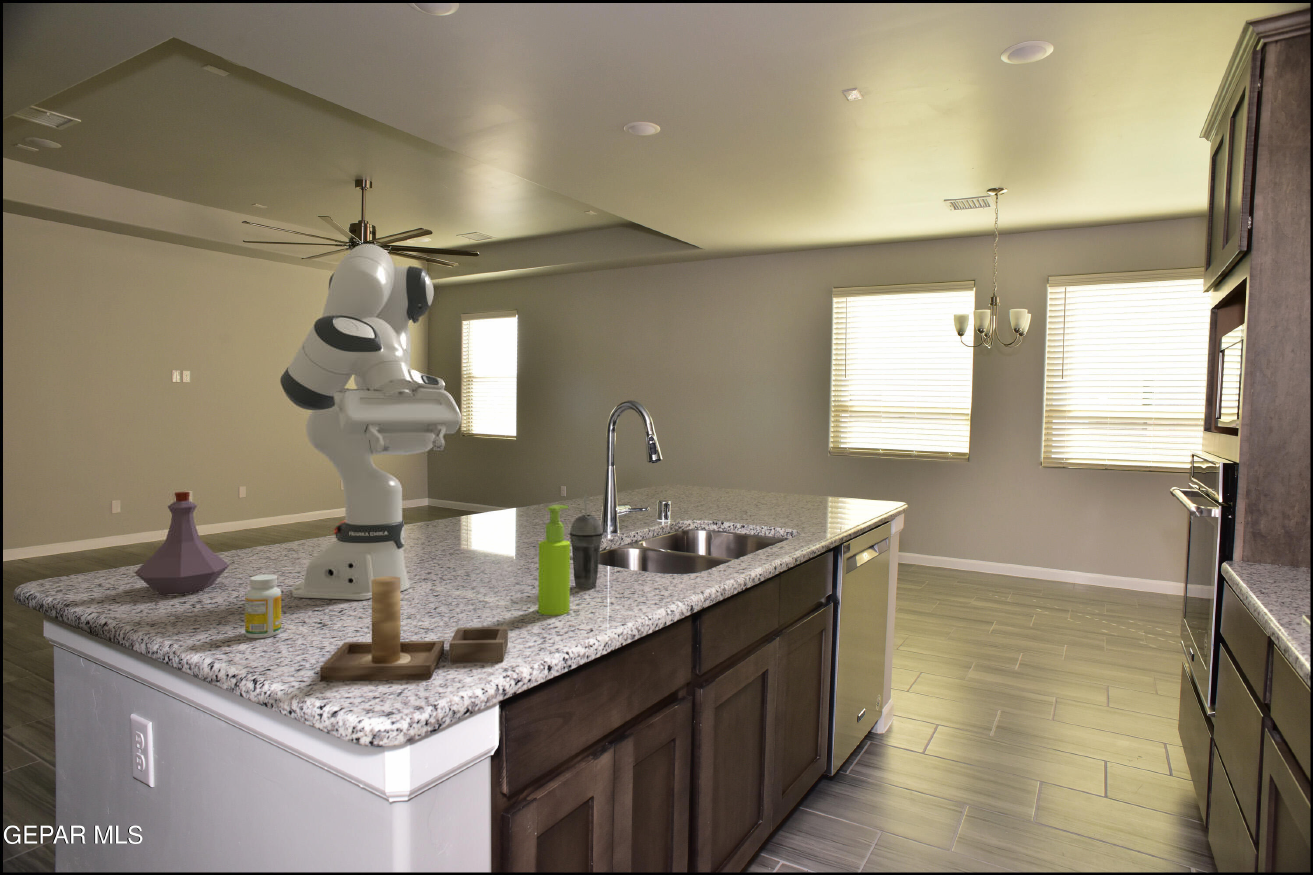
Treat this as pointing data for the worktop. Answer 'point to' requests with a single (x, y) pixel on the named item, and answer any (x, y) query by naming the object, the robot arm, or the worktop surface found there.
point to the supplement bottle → (263, 607)
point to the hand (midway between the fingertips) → (412, 448)
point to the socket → (478, 644)
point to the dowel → (386, 619)
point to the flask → (182, 555)
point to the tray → (358, 666)
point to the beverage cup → (585, 549)
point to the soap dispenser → (554, 567)
